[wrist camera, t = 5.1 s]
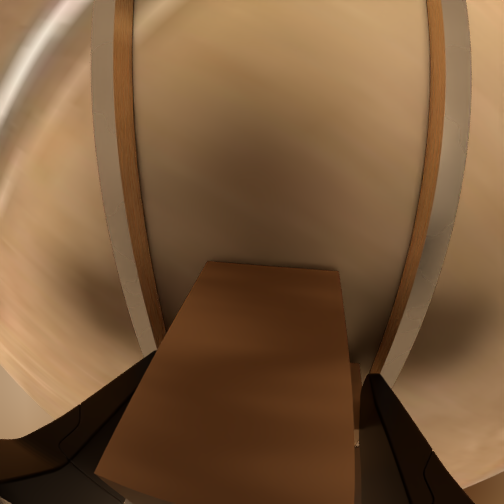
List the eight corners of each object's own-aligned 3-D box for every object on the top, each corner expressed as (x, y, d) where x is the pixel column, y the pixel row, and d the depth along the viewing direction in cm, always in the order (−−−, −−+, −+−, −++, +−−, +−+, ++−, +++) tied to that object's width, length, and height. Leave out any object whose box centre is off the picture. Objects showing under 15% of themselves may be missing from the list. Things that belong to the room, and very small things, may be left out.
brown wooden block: (385, 274, 9) (442, 508, 2) (330, 434, 13) (322, 555, 7) (164, 257, 10) (32, 439, 4) (199, 419, 14) (161, 531, 8)
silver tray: (445, -27, 4) (458, -37, 3) (386, 374, 11) (389, 392, 10) (114, -24, 6) (97, -31, 5) (155, 351, 12) (147, 367, 12)
